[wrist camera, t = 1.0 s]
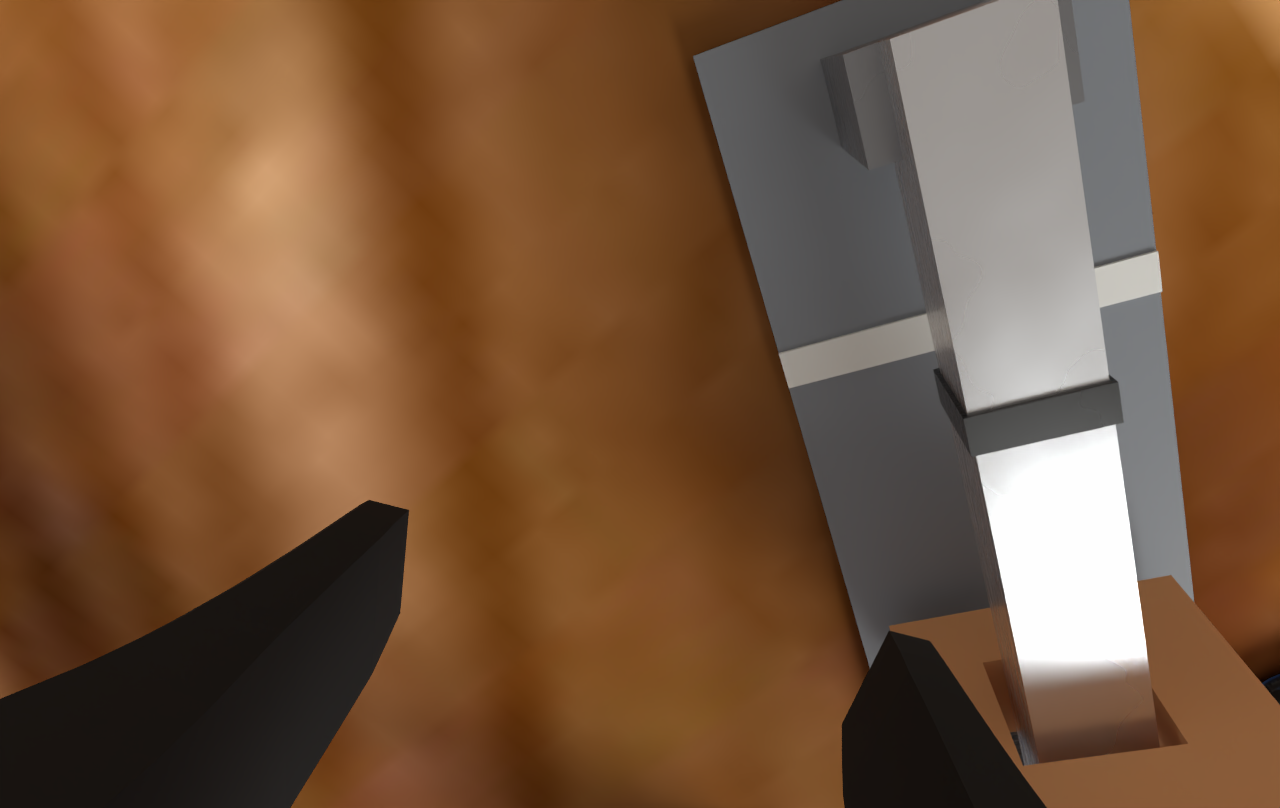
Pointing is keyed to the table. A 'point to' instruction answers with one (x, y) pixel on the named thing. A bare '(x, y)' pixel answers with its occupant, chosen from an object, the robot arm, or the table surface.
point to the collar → (1184, 708)
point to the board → (896, 315)
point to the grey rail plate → (1016, 349)
